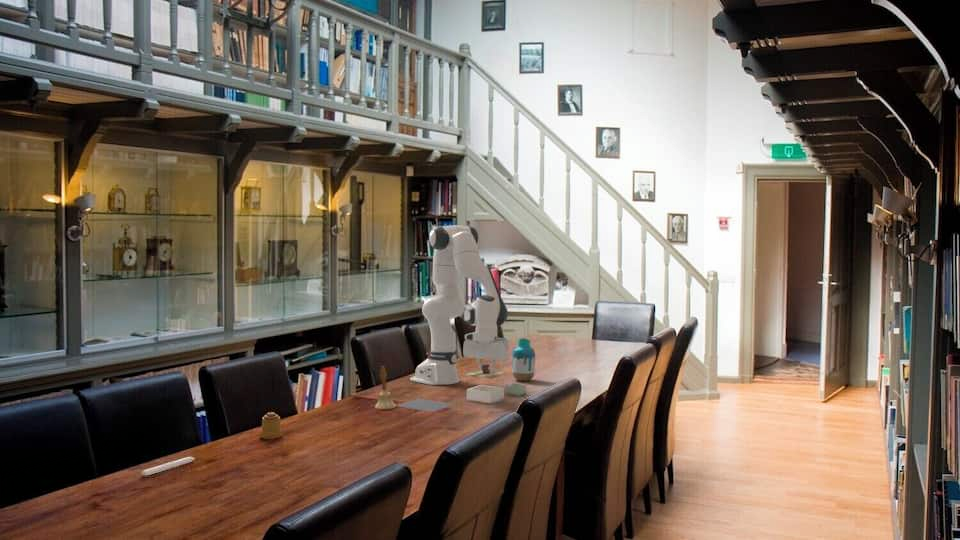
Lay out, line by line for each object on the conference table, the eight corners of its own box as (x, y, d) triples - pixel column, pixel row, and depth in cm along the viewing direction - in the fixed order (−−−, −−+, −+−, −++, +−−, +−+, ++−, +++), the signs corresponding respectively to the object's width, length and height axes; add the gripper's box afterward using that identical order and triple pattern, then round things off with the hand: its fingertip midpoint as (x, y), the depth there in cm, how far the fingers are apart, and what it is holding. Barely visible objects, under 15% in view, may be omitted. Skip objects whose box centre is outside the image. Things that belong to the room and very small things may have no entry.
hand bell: (392, 409, 308) (390, 368, 306) (371, 409, 309) (369, 368, 308) (399, 404, 316) (396, 364, 314) (378, 404, 317) (376, 364, 316)
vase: (535, 383, 365) (536, 341, 364) (511, 382, 365) (512, 340, 364) (534, 378, 376) (535, 337, 374) (511, 378, 376) (512, 337, 375)
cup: (506, 394, 339) (506, 385, 339) (513, 392, 344) (513, 383, 344) (518, 396, 336) (518, 387, 336) (525, 394, 341) (525, 384, 341)
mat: (394, 406, 314) (394, 405, 314) (418, 399, 327) (418, 398, 327) (432, 413, 304) (432, 411, 304) (455, 405, 318) (455, 404, 318)
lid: (465, 375, 324) (465, 365, 324) (481, 371, 335) (481, 361, 334) (491, 378, 318) (491, 368, 318) (506, 374, 328) (506, 364, 328)
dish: (466, 401, 325) (466, 389, 325) (481, 396, 335) (481, 384, 334) (489, 405, 320) (490, 392, 319) (504, 400, 329) (504, 387, 329)
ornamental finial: (283, 439, 265) (259, 440, 263) (282, 433, 273) (259, 434, 271) (283, 415, 265) (259, 416, 263) (282, 410, 272) (259, 411, 270)
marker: (192, 461, 240) (192, 453, 240) (197, 462, 239) (197, 454, 239) (140, 477, 225) (140, 469, 225) (145, 478, 224) (145, 470, 224)
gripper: (512, 337, 323) (512, 371, 324) (469, 333, 334) (469, 366, 334) (504, 339, 317) (504, 374, 318) (461, 335, 328) (461, 369, 329)
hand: (486, 370), depth 326 cm, fingers closed on lid, 3 cm apart
